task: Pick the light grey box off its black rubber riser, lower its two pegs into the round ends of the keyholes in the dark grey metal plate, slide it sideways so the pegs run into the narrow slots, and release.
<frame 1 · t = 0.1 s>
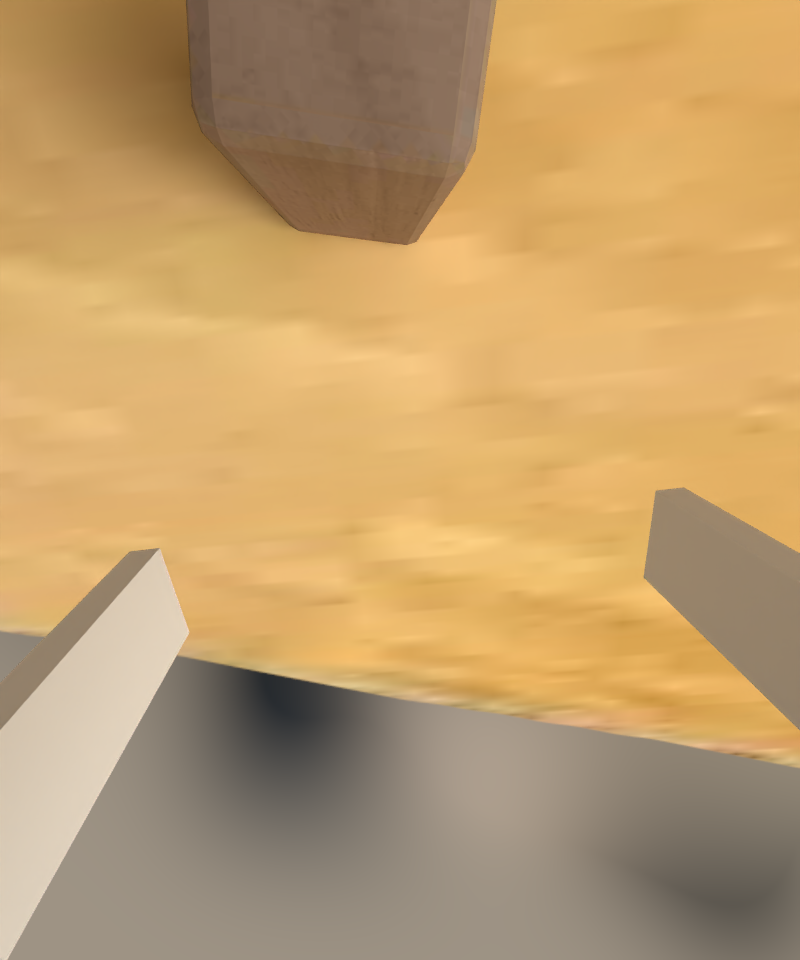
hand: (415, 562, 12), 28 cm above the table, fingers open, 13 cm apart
wooden block: (358, 163, 32), on the table
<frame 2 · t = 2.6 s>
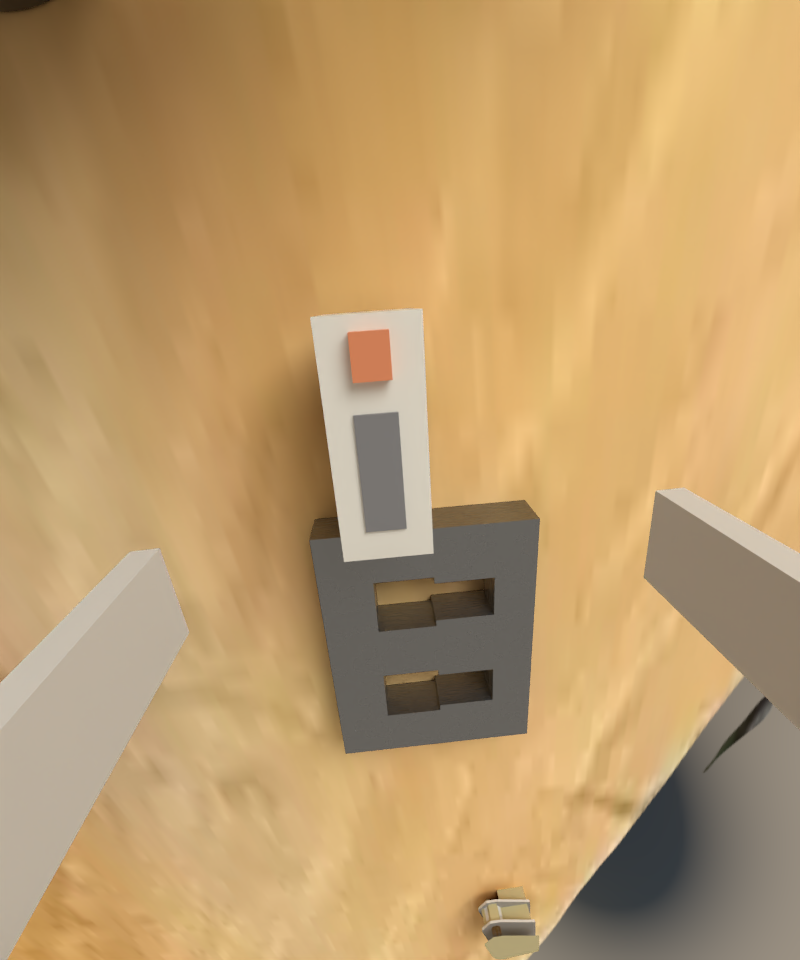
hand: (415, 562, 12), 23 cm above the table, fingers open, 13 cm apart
light grey box: (376, 408, 33), resting on riser
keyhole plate: (427, 622, 41), on the table
sponge pad: (499, 890, 60), on the table
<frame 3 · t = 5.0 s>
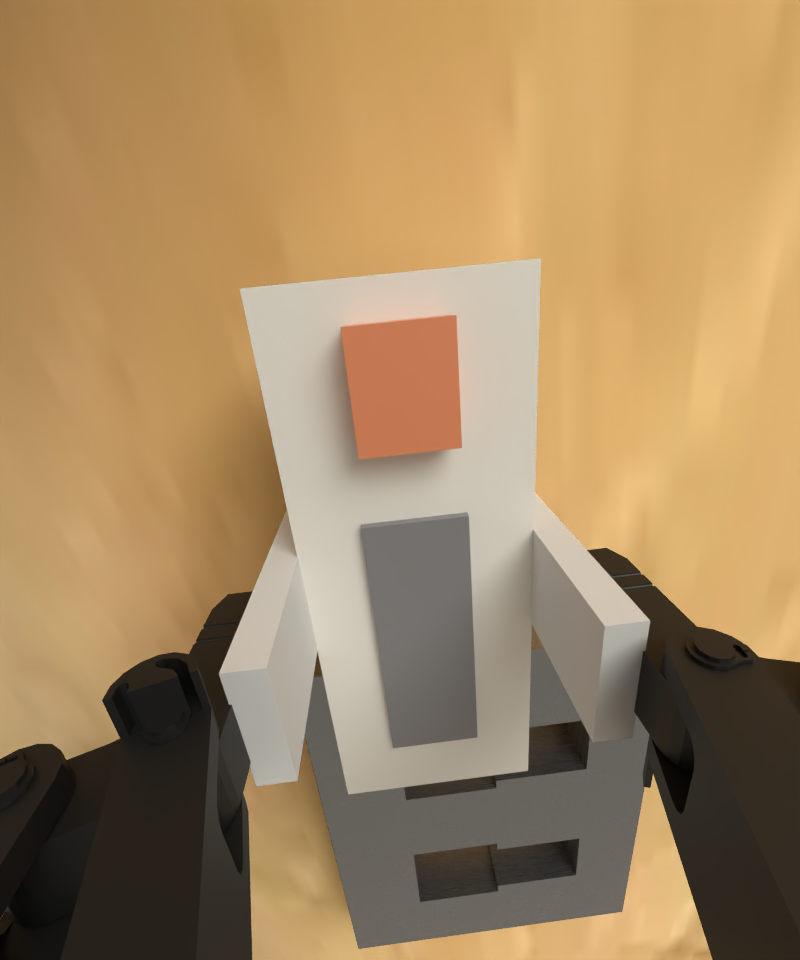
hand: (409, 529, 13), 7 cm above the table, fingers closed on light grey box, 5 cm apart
light grey box: (396, 458, 20), resting on riser, touching gripper
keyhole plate: (474, 758, 28), on the table
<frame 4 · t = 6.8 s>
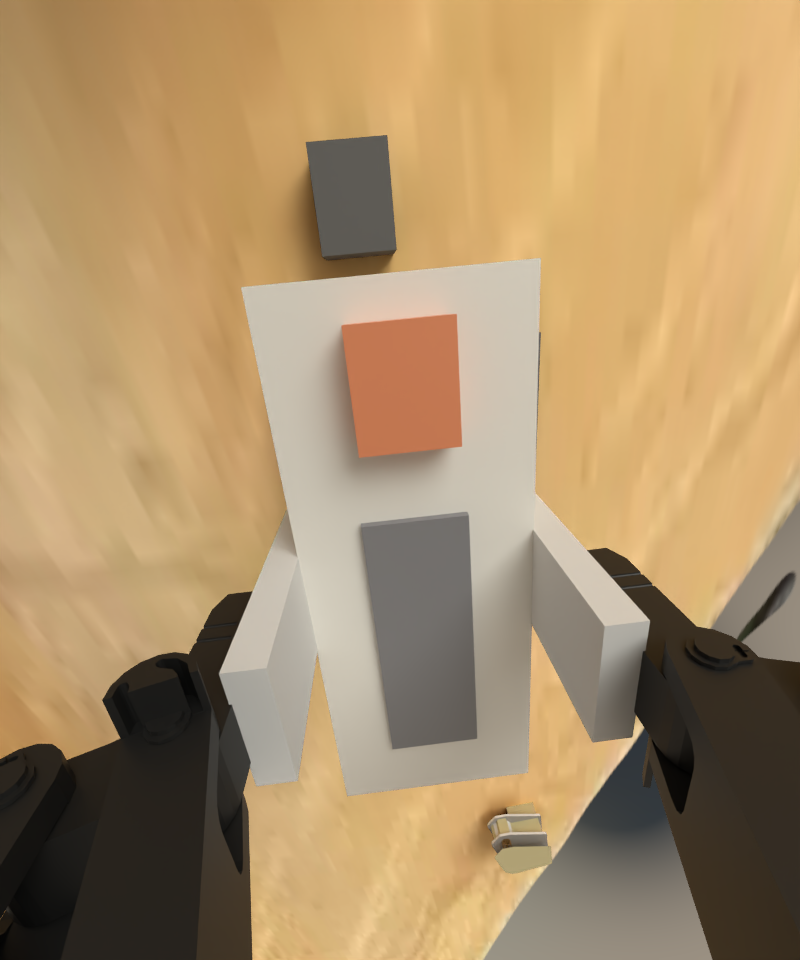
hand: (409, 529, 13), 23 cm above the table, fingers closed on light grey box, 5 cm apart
light grey box: (396, 460, 20), point 16 cm above the table, touching gripper
riser: (354, 208, 29), on the table
sponge pad: (509, 808, 58), on the table
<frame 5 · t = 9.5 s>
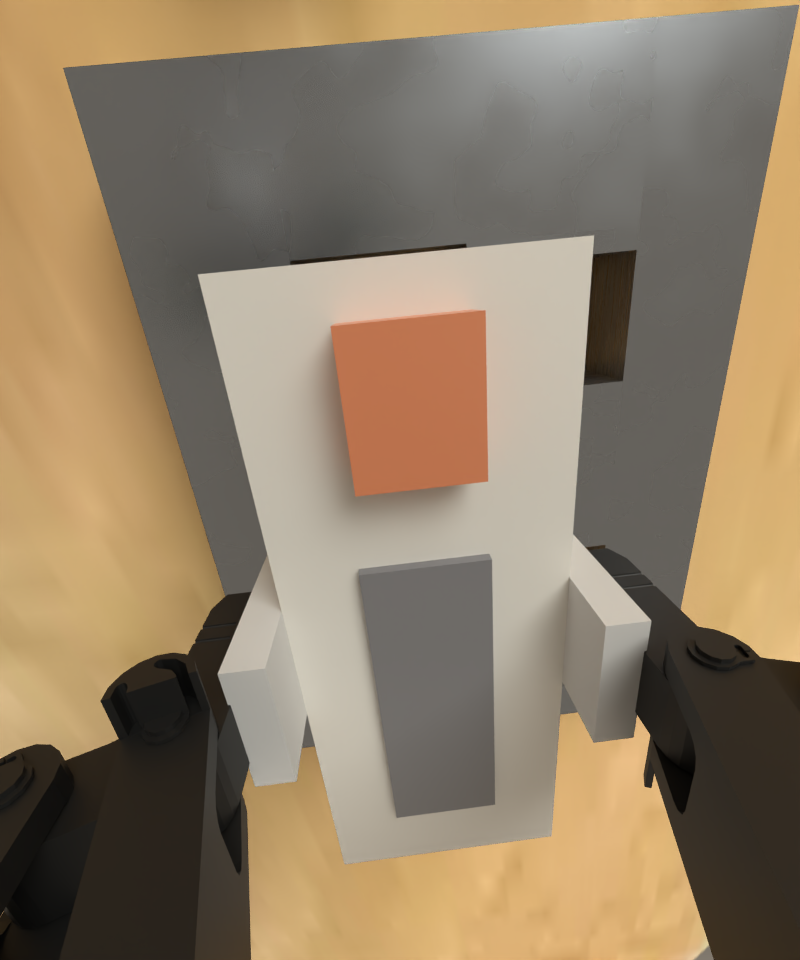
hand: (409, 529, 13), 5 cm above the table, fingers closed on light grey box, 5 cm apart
light grey box: (398, 468, 18), resting on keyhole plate, touching gripper
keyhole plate: (443, 454, 18), on the table
when the fingers open (5 cm above the table, at t = 11.0 s): light grey box stays where it is, resting on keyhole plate.
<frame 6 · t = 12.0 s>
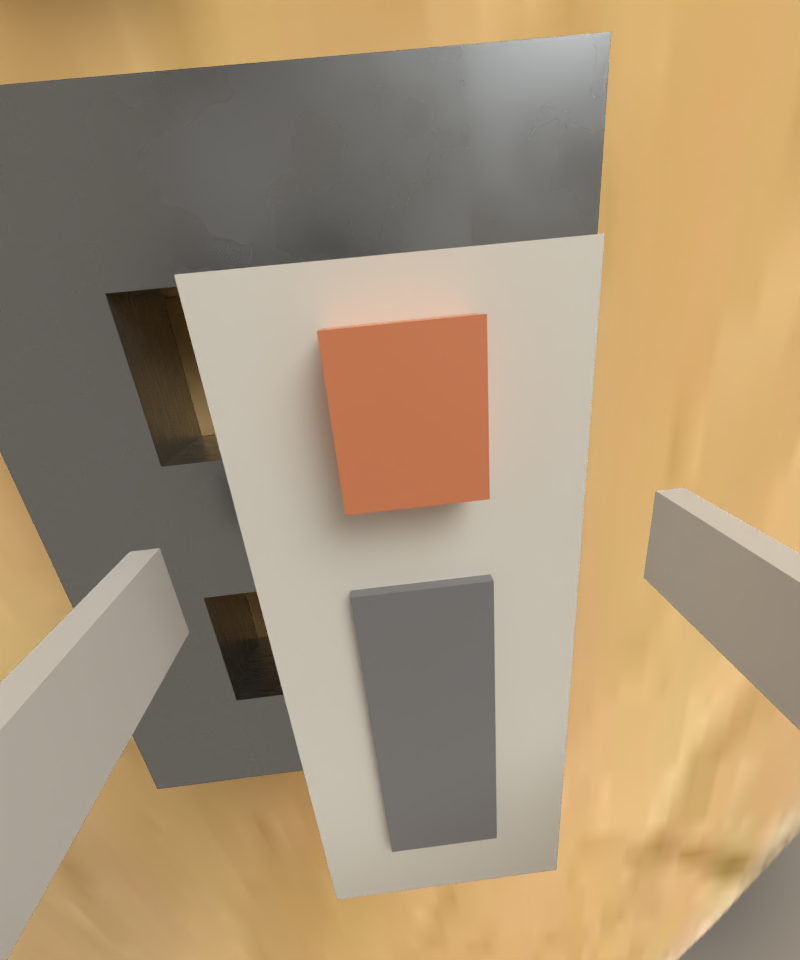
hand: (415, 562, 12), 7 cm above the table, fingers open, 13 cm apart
light grey box: (397, 477, 17), resting on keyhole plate
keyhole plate: (327, 482, 18), on the table
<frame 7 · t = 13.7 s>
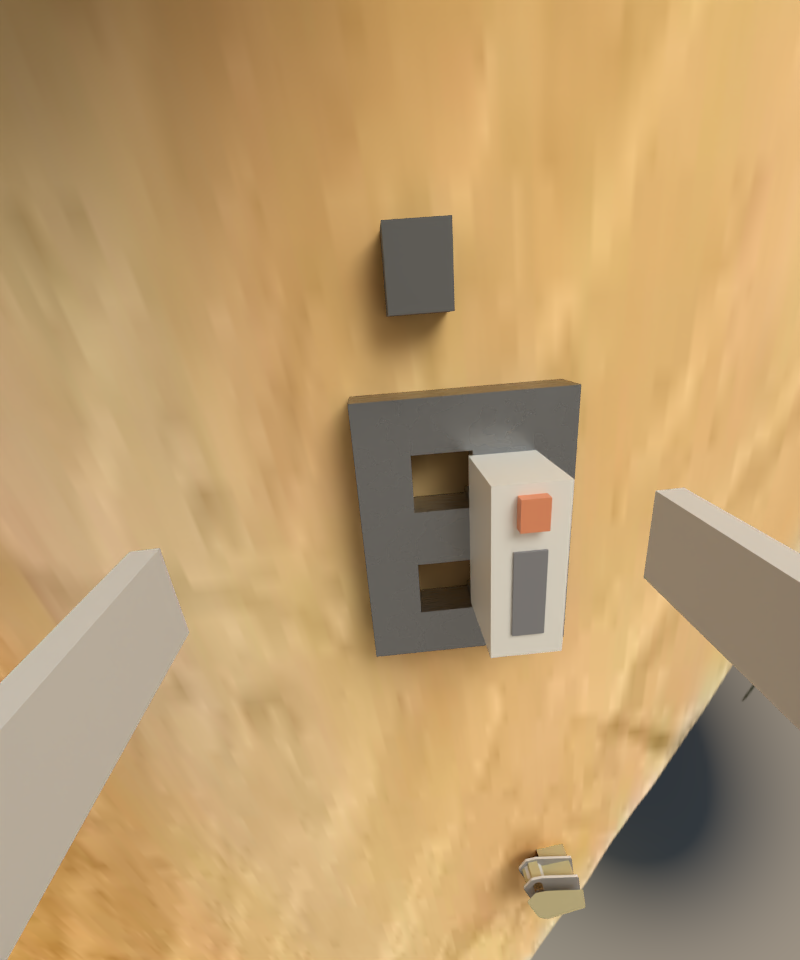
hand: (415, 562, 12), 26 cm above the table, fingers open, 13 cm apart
light grey box: (492, 516, 40), resting on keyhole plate
riser: (414, 272, 33), on the table
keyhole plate: (460, 517, 40), on the table
sponge pad: (539, 850, 59), on the table
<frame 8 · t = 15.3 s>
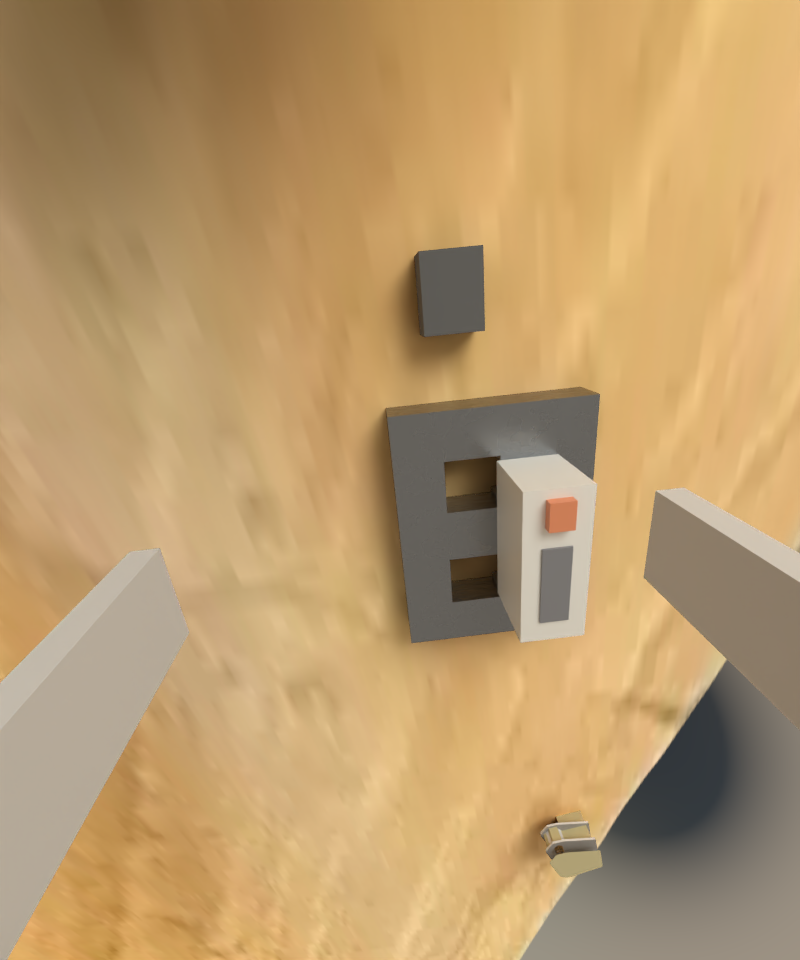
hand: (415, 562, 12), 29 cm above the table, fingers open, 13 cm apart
light grey box: (515, 513, 43), resting on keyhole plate
riser: (445, 293, 36), on the table
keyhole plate: (486, 515, 44), on the table
sponge pad: (559, 817, 64), on the table
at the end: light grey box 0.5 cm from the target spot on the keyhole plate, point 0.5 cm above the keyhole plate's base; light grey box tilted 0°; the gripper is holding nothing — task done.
